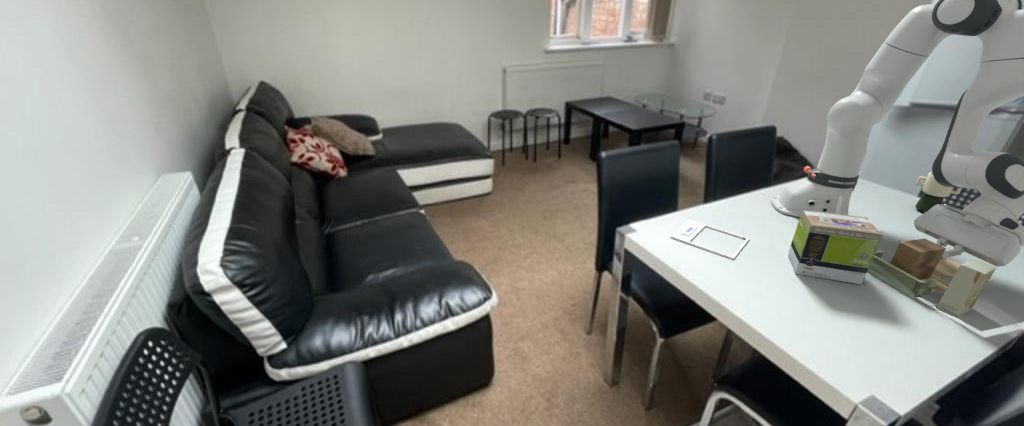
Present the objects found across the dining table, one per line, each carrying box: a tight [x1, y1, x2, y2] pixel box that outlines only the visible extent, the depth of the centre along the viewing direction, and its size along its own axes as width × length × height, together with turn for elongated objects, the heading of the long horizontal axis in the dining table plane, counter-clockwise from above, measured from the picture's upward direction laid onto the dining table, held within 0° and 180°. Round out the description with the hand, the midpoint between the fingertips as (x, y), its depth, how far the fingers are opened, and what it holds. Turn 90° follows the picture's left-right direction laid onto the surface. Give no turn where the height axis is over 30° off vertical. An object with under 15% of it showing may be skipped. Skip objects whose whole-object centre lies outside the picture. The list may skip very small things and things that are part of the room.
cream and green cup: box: [914, 171, 963, 213], centre depth 145 cm, size 11×7×13 cm, turn 42°
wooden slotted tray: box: [867, 249, 993, 299], centre depth 114 cm, size 26×14×4 cm, turn 104°
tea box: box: [787, 210, 883, 286], centre depth 113 cm, size 15×10×15 cm
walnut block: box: [889, 238, 947, 280], centre depth 110 cm, size 8×5×9 cm, turn 104°
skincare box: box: [936, 258, 997, 319], centre depth 99 cm, size 6×4×12 cm
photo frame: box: [670, 219, 750, 260], centre depth 130 cm, size 15×1×18 cm
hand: (937, 256), depth 112 cm, fingers closed
